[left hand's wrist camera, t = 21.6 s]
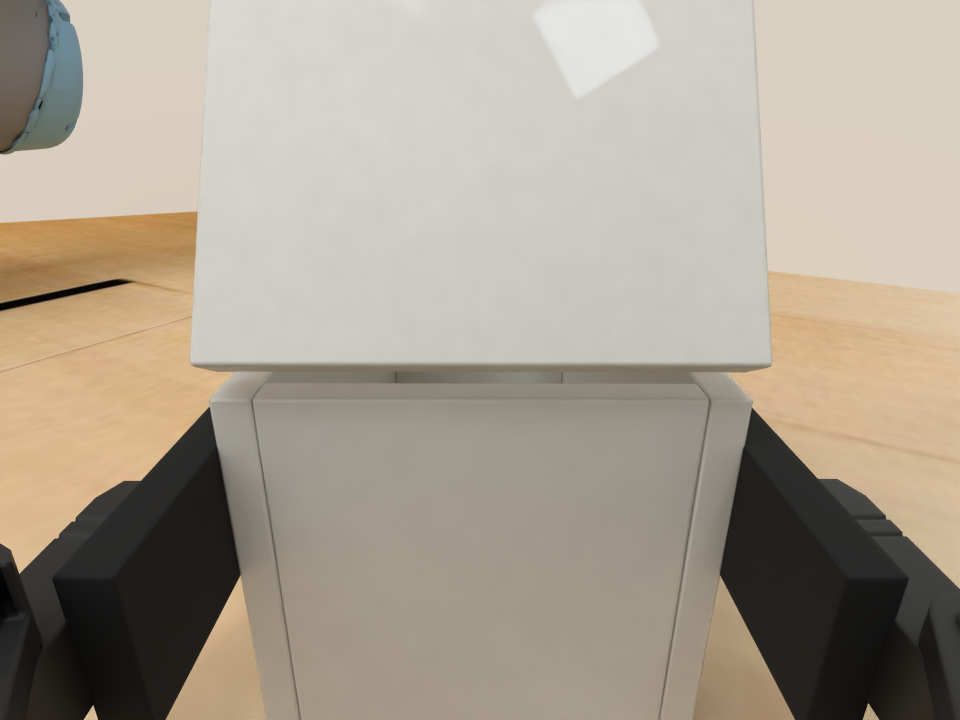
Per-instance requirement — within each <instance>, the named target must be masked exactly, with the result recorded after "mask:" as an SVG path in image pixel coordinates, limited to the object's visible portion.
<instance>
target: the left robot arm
mask: <svg viewBox="0 0 960 720" xmlns="http://www.w3.org/2000/svg"><path fill="white" fill-rule="evenodd" d="M720 576H721V578H722V580H723V581H724V583H725V585H726V587H727V589H728V591H729V593H730V595H731V597H732V599H733V601H734V603H735V605H736V607H737V608H738V610H739V612H740V614H741V616H742V618H743V620H744V622H745V624H746V626H747V628H748V630H749V632H750V633H751V635H752V637H753V639H754V641H755V643H756V645H757V647H758V649H759V651H760V653H761V655H762V657H763V659H764V660H765V662H766V664H767V666H768V668H769V670H770V672H771V674H772V676H773V678H774V680H775V682H776V684H777V686H778V687H779V689H780V691H781V693H782V695H783V697H784V699H785V701H786V703H787V705H788V707H789V709H790V711H791V713H792V714H793V716H794V718H795V720H863V717H864V714H865V711H866V708H867V705H868V703H869V705H870V706H871V708H872V709H873V711H874V712H875V714H876V715H877V717H878V718H879V720H960V589H959V588H958V587H957V586H956V585H955V584H954V583H953V582H952V581H951V580H950V579H949V578H948V577H947V576H946V575H945V574H944V573H943V572H942V571H941V570H940V569H939V568H938V567H937V566H936V565H935V564H934V563H933V562H932V561H931V560H930V559H929V558H928V557H927V556H926V555H925V554H924V553H923V552H922V551H921V550H920V549H919V548H918V547H917V546H916V545H915V544H914V543H913V542H912V541H911V540H910V539H909V538H908V537H903V535H902V531H901V530H900V529H899V528H898V527H897V526H896V525H895V524H894V523H893V522H892V521H891V520H886V516H885V515H884V514H883V513H882V512H881V511H880V510H879V509H878V508H877V507H876V506H875V505H874V504H873V503H872V502H871V501H870V500H869V499H868V498H867V497H866V496H865V495H863V494H862V493H860V492H858V491H857V490H855V489H853V488H851V487H850V486H848V485H846V484H845V483H843V482H841V481H840V480H838V479H817V477H816V476H815V475H814V474H813V473H812V472H811V471H810V470H809V469H808V468H807V467H806V466H805V464H804V463H803V462H802V461H801V460H800V459H799V458H798V457H797V456H796V455H795V454H794V453H793V451H792V450H791V449H790V448H789V447H788V446H787V445H786V444H785V443H784V442H783V441H782V440H781V438H780V437H779V436H778V435H777V434H776V433H775V432H774V431H773V430H772V429H771V428H770V427H769V425H768V424H767V423H766V422H765V421H764V420H763V419H762V418H761V417H760V416H759V415H758V414H757V412H756V411H755V410H754V409H753V408H752V409H751V414H750V420H749V425H748V430H747V435H746V441H745V446H744V447H743V452H742V458H741V463H740V468H739V474H738V479H737V484H736V490H735V495H734V500H733V506H732V511H731V517H730V522H729V527H728V533H727V538H726V543H725V549H724V554H723V559H722V565H721V570H720ZM239 577H240V569H239V564H238V558H237V553H236V547H235V542H234V536H233V531H232V525H231V520H230V514H229V509H228V503H227V498H226V492H225V487H224V481H223V476H222V470H221V465H220V459H219V454H218V448H217V443H216V437H215V432H214V426H213V421H212V416H211V410H210V407H209V408H208V409H207V410H206V411H205V412H204V413H203V414H202V415H201V416H200V418H199V419H198V420H197V421H196V422H195V423H194V424H193V425H192V426H191V427H190V428H189V430H188V431H187V432H186V433H185V434H184V435H183V436H182V437H181V438H180V439H179V440H178V441H177V443H176V444H175V445H174V446H173V447H172V448H171V449H170V450H169V451H168V452H167V453H166V454H165V456H164V457H163V458H162V459H161V460H160V461H159V462H158V463H157V464H156V465H155V466H154V467H153V469H152V470H151V471H150V472H149V473H148V474H147V475H146V476H145V477H144V478H143V479H142V480H141V481H123V482H122V483H120V484H118V485H117V486H115V487H113V488H111V489H110V490H108V491H106V492H105V493H103V494H101V495H100V496H98V497H96V498H95V499H94V500H93V501H92V502H91V503H90V504H89V505H88V506H87V507H86V508H85V509H84V510H83V511H82V512H81V513H80V514H79V515H78V516H77V517H76V521H75V522H71V523H70V524H69V525H68V526H67V527H66V528H65V529H64V530H63V531H62V532H61V533H60V534H59V538H58V539H54V540H53V541H52V542H51V543H50V544H49V545H48V546H47V547H46V548H45V549H44V550H43V551H42V552H41V553H40V554H39V555H38V556H37V557H36V558H35V559H34V560H33V561H32V562H31V563H30V564H29V565H28V566H27V567H26V568H25V569H24V570H23V571H22V572H21V573H20V574H19V572H18V569H17V566H16V564H15V561H14V558H13V555H12V552H11V550H10V549H8V548H7V547H5V546H3V545H2V544H0V720H84V718H85V717H86V715H87V714H88V712H89V711H90V709H91V707H92V706H93V705H94V708H95V711H96V714H97V717H98V720H166V718H167V716H168V714H169V712H170V710H171V708H172V706H173V704H174V702H175V700H176V698H177V697H178V695H179V693H180V691H181V689H182V687H183V685H184V683H185V681H186V679H187V677H188V675H189V673H190V671H191V670H192V668H193V666H194V664H195V662H196V660H197V658H198V656H199V654H200V652H201V650H202V648H203V646H204V644H205V643H206V641H207V639H208V637H209V635H210V633H211V631H212V629H213V627H214V625H215V623H216V621H217V619H218V617H219V616H220V614H221V612H222V610H223V608H224V606H225V604H226V602H227V600H228V598H229V596H230V594H231V592H232V590H233V589H234V587H235V585H236V583H237V581H238V579H239Z"/></svg>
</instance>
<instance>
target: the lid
mask: <svg viewBox="0 0 960 720" xmlns="http://www.w3.org/2000/svg"><path fill="white" fill-rule="evenodd" d="M190 363H191V365H192V366H194V367H198V368H202V369H207V370H212V371H216V372H749V371H754V370H759V369H764V368H768V367H770V366H771V365H772V347H771V327H770V308H769V289H768V269H767V250H766V230H765V211H764V192H763V173H762V154H761V134H760V114H759V95H758V76H757V56H756V37H755V18H754V0H209V13H208V32H207V50H206V69H205V88H204V107H203V125H202V144H201V163H200V181H199V200H198V218H197V237H196V255H195V274H194V293H193V311H192V330H191V349H190Z"/></svg>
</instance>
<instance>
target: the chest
mask: <svg viewBox="0 0 960 720" xmlns="http://www.w3.org/2000/svg"><path fill="white" fill-rule="evenodd" d="M752 404H753V401H752V398H751V397H750V396H749V395H748V394H747V393H746V392H745V391H744V390H743V389H742V388H741V387H740V386H739V385H738V384H737V383H736V382H735V381H734V380H733V378H732V377H731V376H730V375H729V374H728V373H727V372H234V373H233V374H232V375H231V376H230V377H229V378H228V379H227V380H226V381H225V383H224V384H223V385H222V386H221V387H220V388H219V389H218V390H217V391H216V392H215V393H214V394H213V395H212V396H211V397H210V399H209V405H210V410H211V416H212V421H213V426H214V432H215V437H216V443H217V448H218V454H219V459H220V465H221V470H222V476H223V481H224V487H225V492H226V498H227V503H228V509H229V514H230V520H231V525H232V531H233V536H234V542H235V547H236V553H237V558H238V564H239V569H240V575H241V580H242V585H243V591H244V596H245V602H246V607H247V613H248V618H249V624H250V629H251V635H252V640H253V646H254V651H255V657H256V662H257V668H258V673H259V679H260V684H261V690H262V695H263V701H264V706H265V712H266V717H267V720H693V715H694V709H695V704H696V699H697V694H698V688H699V683H700V678H701V673H702V667H703V662H704V657H705V652H706V646H707V641H708V636H709V630H710V625H711V620H712V615H713V609H714V604H715V599H716V594H717V588H718V583H719V578H720V570H721V565H722V559H723V554H724V549H725V543H726V538H727V533H728V527H729V522H730V517H731V511H732V506H733V500H734V495H735V490H736V484H737V479H738V474H739V468H740V463H741V458H742V452H743V447H744V446H745V441H746V435H747V430H748V425H749V420H750V414H751V409H752Z"/></svg>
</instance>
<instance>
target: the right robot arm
mask: <svg viewBox="0 0 960 720" xmlns="http://www.w3.org/2000/svg"><path fill="white" fill-rule="evenodd" d="M82 95H83V68H82V58H81V51H80V45H79V41H78V37H77V34H76V31H75V28H74V26H73V25H72V24H71V23H70V15H69V13H68V11H67V10H66V8H65V7H64V5H63V4H62V3H61V2H60V1H59V0H0V154H10V153H13V152H14V151H22V150H34V149H46V148H51V147H55V146H57V145H59V144H61V143H62V142H64V141H65V140H66V139H67V138H68V137H69V136H70V134H71V133H72V131H73V130H74V128H75V125H76V121H77V118H78V117H79V113H80V109H81V104H82Z"/></svg>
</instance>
